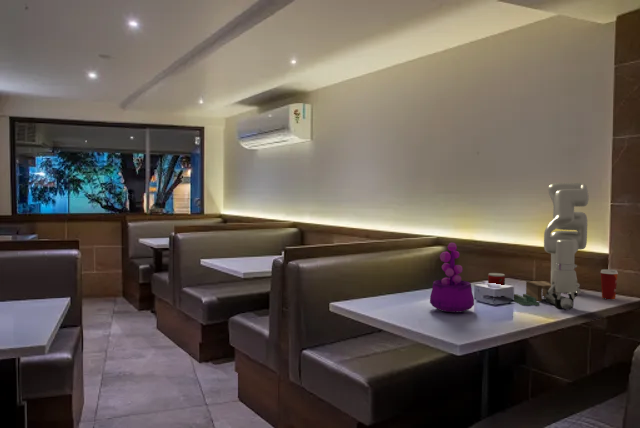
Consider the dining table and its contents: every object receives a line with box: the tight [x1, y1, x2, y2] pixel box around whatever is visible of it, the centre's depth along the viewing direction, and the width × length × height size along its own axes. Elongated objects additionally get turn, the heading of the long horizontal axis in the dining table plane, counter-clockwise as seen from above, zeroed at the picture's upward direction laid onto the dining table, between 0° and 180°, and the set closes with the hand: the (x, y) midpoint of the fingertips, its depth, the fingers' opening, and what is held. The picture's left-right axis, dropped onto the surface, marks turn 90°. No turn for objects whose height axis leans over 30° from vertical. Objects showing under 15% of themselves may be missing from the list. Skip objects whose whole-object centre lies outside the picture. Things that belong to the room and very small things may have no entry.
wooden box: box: [525, 280, 555, 302], centre depth 243 cm, size 10×12×8 cm
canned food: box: [487, 272, 506, 286], centre depth 251 cm, size 8×8×11 cm
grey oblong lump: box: [544, 292, 574, 310], centre depth 228 cm, size 15×5×5 cm, turn 3°
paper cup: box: [599, 268, 619, 300], centre depth 244 cm, size 8×8×14 cm
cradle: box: [513, 293, 540, 306], centre depth 235 cm, size 8×12×3 cm, turn 3°
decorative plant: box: [429, 242, 475, 313], centre depth 218 cm, size 19×18×30 cm
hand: (564, 307), depth 223 cm, fingers closed on grey oblong lump, 5 cm apart
